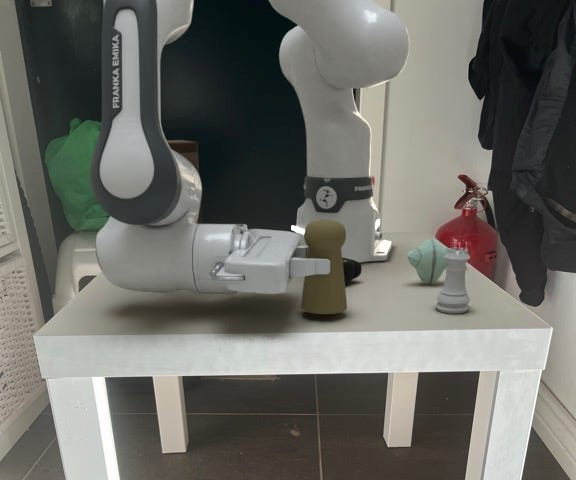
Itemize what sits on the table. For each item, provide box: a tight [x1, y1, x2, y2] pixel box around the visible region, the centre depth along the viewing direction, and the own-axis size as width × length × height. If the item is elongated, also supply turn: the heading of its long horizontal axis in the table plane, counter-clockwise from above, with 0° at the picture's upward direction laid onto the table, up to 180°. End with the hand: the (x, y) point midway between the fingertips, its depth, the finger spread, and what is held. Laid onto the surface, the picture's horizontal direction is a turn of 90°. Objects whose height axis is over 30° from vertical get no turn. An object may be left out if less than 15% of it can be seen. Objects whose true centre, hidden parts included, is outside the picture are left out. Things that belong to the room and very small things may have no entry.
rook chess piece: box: [435, 247, 471, 315], centre depth 84 cm, size 4×4×8 cm
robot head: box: [406, 238, 448, 285], centre depth 97 cm, size 8×4×7 cm, turn 94°
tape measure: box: [342, 257, 362, 283], centre depth 99 cm, size 7×7×4 cm
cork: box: [300, 220, 348, 315], centre depth 81 cm, size 6×6×11 cm
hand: (331, 261), depth 81 cm, fingers closed on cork, 4 cm apart
